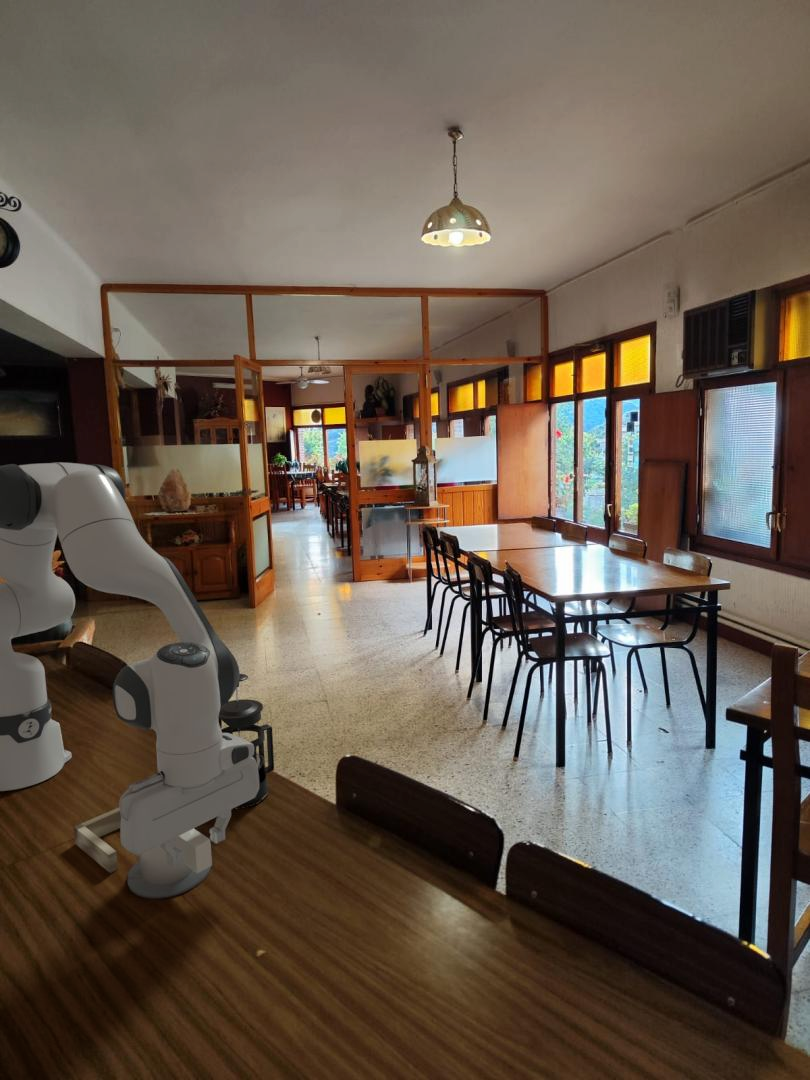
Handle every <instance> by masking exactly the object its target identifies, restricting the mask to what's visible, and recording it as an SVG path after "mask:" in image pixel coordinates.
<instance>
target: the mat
mask: <svg viewBox="0 0 810 1080" xmlns="http://www.w3.org/2000/svg"><path fill="white" fill-rule="evenodd" d="M211 869H212V866H210V867H208V868H206V869H204V870H203V871H201V872H199V873H196V872H194V871H192V872H191V873H190V874H189V875H187V876H186V877H184V878H182V879H180V880H178V881H175V882H172V883H168V884H151V883H148V882H146V881H144V880H143V878H142V876H141V867H140V859H139V860H138V861H136V862H135V863H134V864H133V865H132V867H131V868H130V870H129V871H128V875H127V886H128V889H129V890H130V892H132V893H133V894H134V895H136V896H137V897H141V898H145V899H152V900H153V899H154V900H155V899H166V898H167V899H168V898H171V897H175V896H178V895H181V894H184V893H186V892H188V891H190V890H193V889H194V888H195V887H197V886H198V885H199V884H201V883H202V882H203V881H204V880H206V878H207V877H208V876H209V874H210V872H211Z"/></svg>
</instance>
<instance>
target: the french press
mask: <svg viewBox="0 0 810 1080" xmlns="http://www.w3.org/2000/svg"><path fill="white" fill-rule="evenodd" d="M248 678H249V676H248V675H247V674H245V673H240V676H239V681H238V685H237V687H236V690H235V698H236V699H235V700H229V701H228V702H227V703H226V704H225V705H222V706H221V707H220V712H219V718H218V719H219V720H221V721H222V722H224V724H225V725H226V726H227V727H224V728H221V730H222V733H230V734H233V733H236V732H238V735H237V736H239V737H241V732H255V733H257V738H256V739H253V740H252V741H249V742H250V743H252V744H253V745H254V754H253V756H252V757H253V758H254V759H255V760H256V763H257V767H258V774H259V790H258V793H257V795H256V796H255V798H253V799H251V800H249V801H247V802H245V803H243V804H241V805H239V806H237V807H235V808H242V807H247V806H250V805H253V804H256V803H257V802H259V801H261V800H262V799H264V798H265V797H266V795H267V794H268V795H269V793H268V791H269V787H268V777H267V776H268V775H267V774H268V773H271V772H273V771H274V770H275V761H274V760H275V758H274V757H275V756H274V741H273V740H274V738H273V737H274V736H273V726H271V725H269V724H262V725H258V723H259V722H260V721H261V719H262V711H263V708H264V705H263V703H262V702H261V701H258V700H255V699H249V698H243V699H239V687H240V682H244V681H246V680H247V679H248ZM265 731H266V732H265ZM265 733H266V735H265ZM233 735H234V734H233ZM265 737H266V748H267V751H266V752H267V766H266V761H265V760H266V759H265ZM257 747H258V752H257ZM269 792H270V791H269ZM266 798H267V797H266ZM266 798H265V799H266ZM265 799H264V800H265ZM247 808H248V807H247ZM242 809H243V808H242Z"/></svg>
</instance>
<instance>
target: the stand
mask: <svg viewBox="0 0 810 1080" xmlns="http://www.w3.org/2000/svg"><path fill="white" fill-rule="evenodd" d="M120 827H121V814H120V806H119V807H116V808H114V809H112V810H110V811H108V812H105V813H103V814H100V815H98V816H96V817H93V818H91V819H88V820H86V821H84V822H82V823H80V824H77V825H74V826H73V832H74V843H75V845H76V846H77V847H78V848H79V849H80V850H82V851H83V852H84V853H85V854H87V855H88V856H89V857H91V859H93V860H94V861H95V862H96V863H97V864H98V865H100V866H101V867H102V868H103V869H105V871H107V872H108V873H109V874H112V873H113V872H115V871H118V870H119V866H118V856H117V854H118V853H117V850H115V849H114V848H113V847H112V846H111V845H109V844H108V843H107V842H106V841H104V840H103V839H101V838H102V837H103V836H106V835H107V834H109V833H112V832H115V831H116V830H120Z"/></svg>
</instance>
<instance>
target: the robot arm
mask: <svg viewBox="0 0 810 1080" xmlns="http://www.w3.org/2000/svg"><path fill="white" fill-rule="evenodd" d="M125 488H126V487H125V483H124V482H123V479H122V477H121V476H120V474H119V473H118V471H116V470H115V469H114V468H112V467H110V466H106V465H103V464H96V463H91V464H85V463H77V462H76V463H74V462H61V461H60V462H57V461H55V462H49V463H48V462H47V463H46V462H45V463H28V464H19V465H17V464H15V463H9V464H4V465H0V579H2V580H3V581H1V582H0V792H5V791H14V790H19V789H24V788H27V787H31V786H35V785H38V784H39V783H42V782H44V781H46V780H48V779H50V778H52V777H53V776H55V775H57V774H58V773H59V772H60V771H61V770H62V768H63V767H64V765H65V763H67V762H68V761H70V760H71V759H72V758H73V755H72V752H71V751H70V750H66V749H65V748H64V747H65V746H64V742H63V736H62V730H61V725H60V723H59V722H57V721H56V720H54V719H52V716H53V715H52V704H51V700H50V699H49V698H48V693H47V691H48V690H47V683H46V672H45V667H44V665H43V663H42V662H41V661H40V660H39V659H38V658H37V657H35V656H33V655H30V654H27V653H22V652H15V651H14V649H13V647H12V639H14V638H18V637H22V636H27V635H30V634H35V633H38V632H45V631H47V630H49V629H51V628H54V627H57V626H60V625H61V624H63V623H65V622H67V621H69V620H70V619H71V617H72V616H73V613H74V610H75V607H76V597H75V596H76V595H75V593H74V590H73V589H72V587H71V586H70V584H69V583H68V582H67V581H66V580H64V579H63V578H62V577H59V576H58V575H56V574H55V572H54V571H53V565H52V564H53V558H54V557H53V556H54V550H55V545H56V542H57V539H59V542H60V546H61V548H62V552H63V554H64V559H65V561H66V563H67V564H68V567H69V569H70V571H71V573H72V574H73V575H74V577H75V578H76V579H77V580H78V581H79V582H80V583H83V584H84V585H85V586H87V587H89V588H92V589H94V590H96V591H99V592H104V593H107V594H114V595H122V596H129V597H133V598H137V599H141V600H144V601H147V602H149V603H152V604H153V605H155V606H156V607H157V608H159V609H160V610H161V611H162V613H163V614H164V616H165V618H166V619H167V622H168V623H169V624H170V627H171V629H172V630H173V631H174V633H175V634H176V637H177V638H178V640H179V642H174V643H169V644H166V645H163V646H162V647H160V648H159V649H157V651H156V652H154V654H153V655H152V656H151V657H148V658H145V659H140V660H137V661H133V662H132V663H130V664H127V665H124V666H123V667H122V668H121V670H120V671H119V672H118V674H117V675H116V677H115V679H114V682H113V685H112V699H113V708H114V710H115V711H114V712H115V715H116V716H117V718H118V719H119V720H120V721H122V722H124V723H126V724H127V725H130V726H131V727H133V728H135V729H136V728H137V729H139V730H144V731H148V730H153V731H154V732H155V734H156V743H155V751H156V765H157V773H155V774H152V775H149V776H147V777H146V778H145V779H142V780H140V781H135V782H132V784H130V785H128V788H127V789H126V790H125V791H124V792H123V794H122V795H120V797H119V800H118V805H119V807H120V814H121V827H120V828H119V830H120V831H119V832H120V834H119V835H120V844H121V846H122V847H123V848H124V849H125V850H126V851H127V852H129V853H131V854H132V855H135V856H139V857H140V855H142V854H144V853H146V852H148V851H150V850H152V849H154V848H156V847H158V846H160V847H161V848H162V849H163V850H164V851H165V852H166V856H167V863H168V864H169V865H170V866H172V867H174V866H176V865H178V864H180V863H181V862H183V858H182V856H183V853H182V851H181V850H178V848H177V847H174V848H172V847H171V846H172V845H174V838H175V837H177V836H179V835H181V834H183V833H185V832H187V831H189V830H191V829H193V828H194V829H195V828H198V827H199V826H201V825H203V824H205V823H208V822H209V821H211V820H213V819H215V818H216V819H215V823H214V826H213V827H211V828H209V834H210V836H209V839H210V842H213V843H214V844H216V845H217V844H218V843H220V842H222V841H225V840H226V829H227V827H228V824H229V822H230V819H231V817H232V810H234V809H233V808H235V807H237V806H239V805H241V804H243V803H245V802H247V801H249V800H251V799H253V798H255V796H256V795H257V793H258V790H259V774H258V767H257V763H256V760H255V759H254V758H253V757H252V756H253V754H254V745H253V744H252V743H250V742H251V741H248V740H247V739H246V738H242V737H241V736H240V737H239V736H238V735H237V734H230V733H222V730H221V729H222V728H221V726H220V722H219V721H220V719H218V718H219V712H220V707H221V706H222V705H225V704H226V703H227V702H228V701H231V700H230V699H231V698H232V697H233V695H234V694H235V693H236V687H237V685H238V681H239V676H240V674H241V673H240V667H239V664H238V661H237V660H236V658H235V656H234V654H233V652H232V651H231V650H230V649H229V648H228V647H227V646H226V644H225V643H224V642H223V640H221V639H220V637H219V635H218V634H217V633H216V631H215V629H214V628H213V626H212V624H211V623H210V620H209V619H208V618H207V616H206V614H205V613H204V610H203V609H202V607H201V606H200V604H199V603H198V601H197V599H196V598H195V596H194V594H193V592H192V591H191V589H190V587H189V586H188V584H187V582H186V581H185V579H184V577H183V576H182V574H181V573H180V571H179V570H178V568H177V567H176V566H175V565H174V563H173V562H172V561H171V560H170V559H169V558H167V557H165V556H163V555H160V554H159V553H158V552H157V551H156V550H154V548H152V547H151V546H150V545H149V544H148V543H147V542H146V541H145V539H144V538H143V536H142V535H141V533H140V532H139V530H138V528H137V525H136V524H135V521H134V518H133V516H132V514H131V512H130V509H129V507H128V505H127V503H126V497H127V496H126V489H125ZM57 537H58V538H57Z"/></svg>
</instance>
